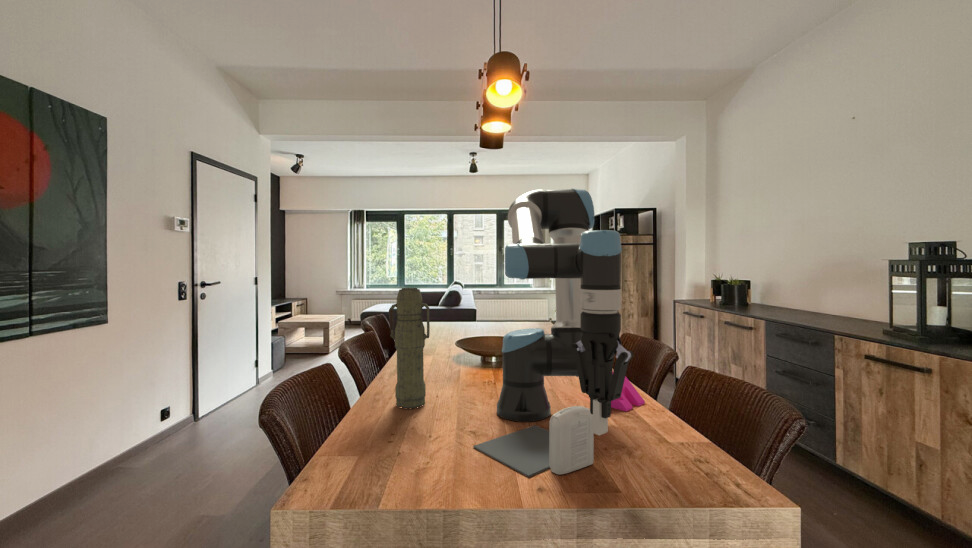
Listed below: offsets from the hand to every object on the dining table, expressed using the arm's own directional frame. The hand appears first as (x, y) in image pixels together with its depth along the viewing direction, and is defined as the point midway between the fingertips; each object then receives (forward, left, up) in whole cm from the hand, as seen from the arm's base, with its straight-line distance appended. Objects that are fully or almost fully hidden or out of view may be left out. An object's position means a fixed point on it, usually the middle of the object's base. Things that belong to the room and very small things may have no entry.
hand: (600, 432), depth 84 cm
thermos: (-64, -6, -9) cm, 65 cm away
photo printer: (-7, 0, -10) cm, 12 cm away
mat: (-18, 0, -9) cm, 21 cm away
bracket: (-25, +43, -10) cm, 51 cm away
